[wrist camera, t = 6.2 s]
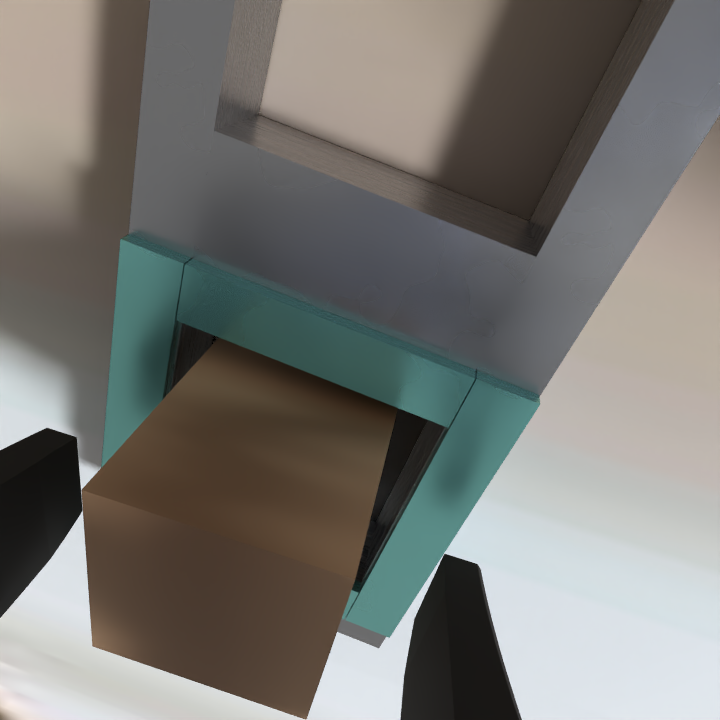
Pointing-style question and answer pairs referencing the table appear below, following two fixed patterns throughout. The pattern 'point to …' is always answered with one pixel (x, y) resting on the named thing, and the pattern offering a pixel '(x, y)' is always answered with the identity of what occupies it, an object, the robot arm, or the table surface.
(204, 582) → the walnut block
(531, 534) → the table surface
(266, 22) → the grey slotted board
